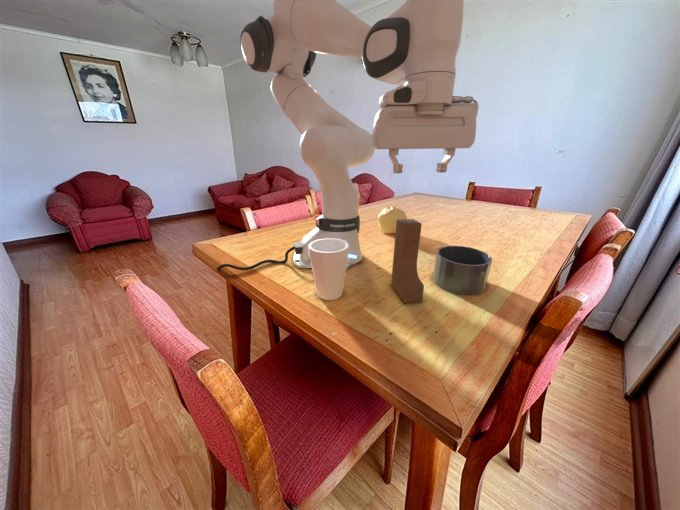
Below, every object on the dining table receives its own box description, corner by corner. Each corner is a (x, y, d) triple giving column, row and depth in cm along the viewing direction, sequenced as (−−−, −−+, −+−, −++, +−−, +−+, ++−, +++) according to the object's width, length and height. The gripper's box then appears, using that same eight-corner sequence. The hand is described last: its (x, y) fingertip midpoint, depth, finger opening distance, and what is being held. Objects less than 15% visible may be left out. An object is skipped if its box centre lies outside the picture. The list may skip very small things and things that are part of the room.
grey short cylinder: (496, 293, 66) (503, 264, 63) (446, 296, 65) (451, 266, 62) (461, 264, 81) (466, 240, 78) (420, 266, 80) (423, 242, 77)
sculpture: (379, 226, 118) (380, 202, 113) (407, 229, 114) (409, 204, 110) (374, 234, 108) (375, 208, 103) (404, 237, 104) (407, 210, 100)
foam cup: (347, 283, 71) (347, 238, 66) (349, 303, 62) (350, 252, 57) (312, 284, 70) (309, 238, 65) (309, 304, 62) (306, 253, 57)
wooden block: (422, 301, 63) (432, 229, 55) (404, 304, 62) (412, 230, 55) (406, 283, 71) (413, 218, 64) (390, 285, 70) (395, 219, 63)
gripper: (470, 98, 53) (458, 170, 59) (371, 98, 51) (368, 172, 57) (490, 93, 47) (475, 173, 53) (379, 92, 46) (375, 175, 51)
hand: (419, 172), depth 55 cm, fingers open, 8 cm apart
